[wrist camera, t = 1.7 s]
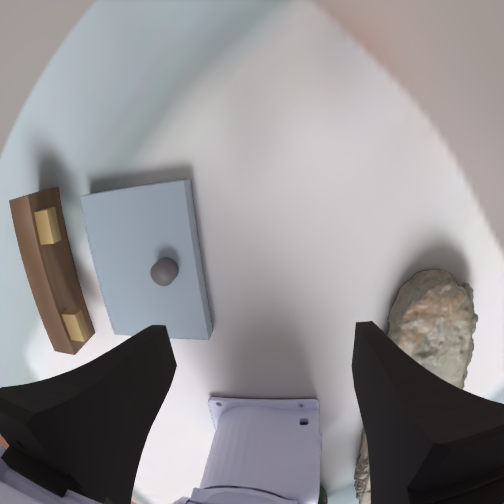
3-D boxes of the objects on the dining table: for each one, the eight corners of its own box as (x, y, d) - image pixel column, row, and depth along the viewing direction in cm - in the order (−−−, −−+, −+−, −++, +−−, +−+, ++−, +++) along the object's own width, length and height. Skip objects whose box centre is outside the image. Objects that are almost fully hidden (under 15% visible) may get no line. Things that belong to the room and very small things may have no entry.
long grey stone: (477, 251, 19) (361, 264, 22) (510, 274, 14) (374, 294, 17) (414, 489, 28) (347, 499, 31) (419, 517, 23) (346, 529, 26)
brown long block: (71, 183, 20) (40, 192, 17) (108, 334, 24) (88, 357, 21) (38, 191, 21) (9, 200, 17) (75, 330, 25) (54, 350, 21)
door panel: (192, 177, 19) (177, 183, 17) (214, 326, 23) (205, 347, 20) (93, 192, 21) (71, 199, 18) (124, 322, 24) (108, 340, 21)
